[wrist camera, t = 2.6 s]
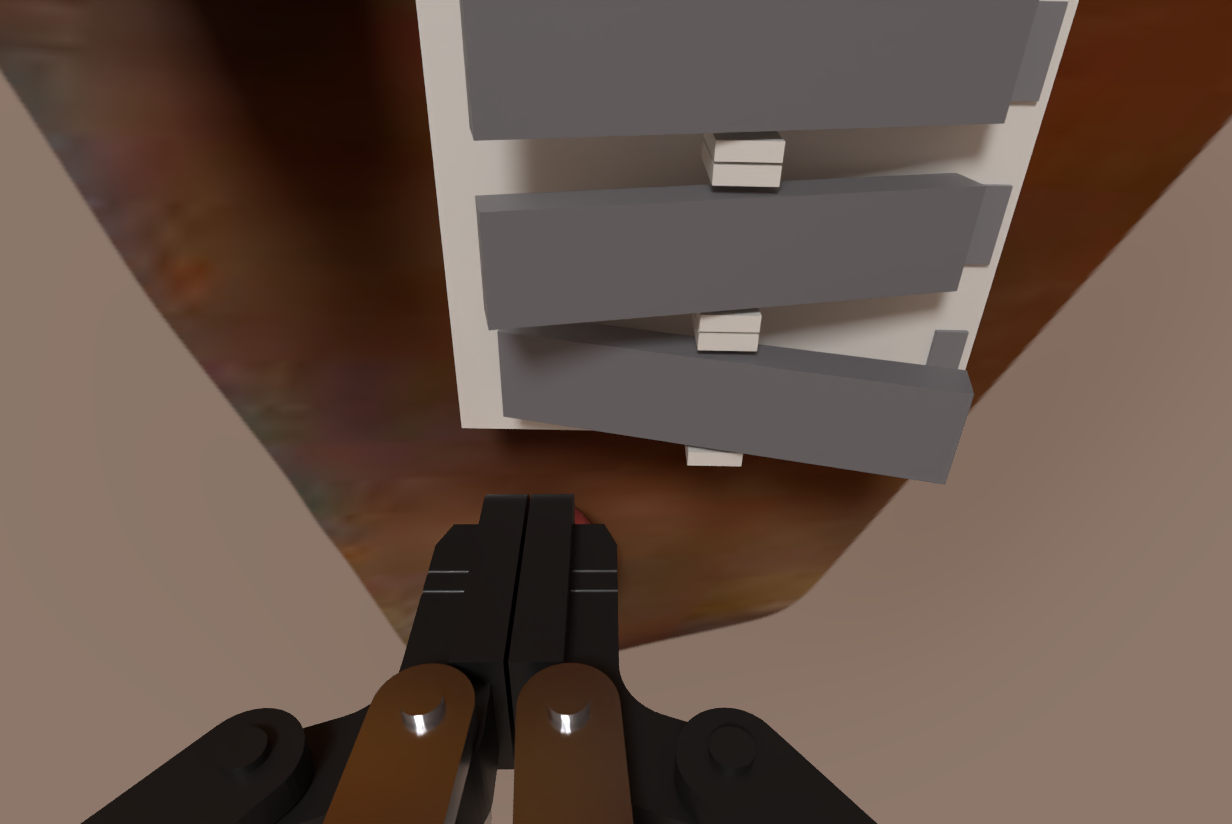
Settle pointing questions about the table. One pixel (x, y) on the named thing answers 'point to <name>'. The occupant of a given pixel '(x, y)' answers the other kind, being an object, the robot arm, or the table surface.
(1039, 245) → the table surface
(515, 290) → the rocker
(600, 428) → the grey board
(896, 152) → the board rack
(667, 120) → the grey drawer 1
